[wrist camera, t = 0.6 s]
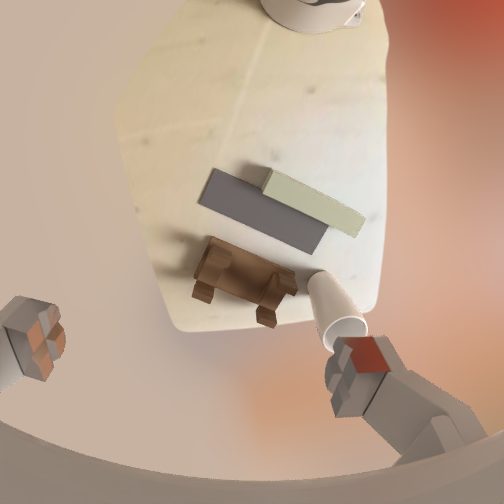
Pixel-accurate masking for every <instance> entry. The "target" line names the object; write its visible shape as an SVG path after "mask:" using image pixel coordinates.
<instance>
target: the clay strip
mask: <svg viewBox="0 0 504 504" xmlns="http://www.w3.org/2000/svg"><path fill="white" fill-rule="evenodd" d="M261 190H262V193H263V194H265V195H267V196H269V197H271V198H273V199H276V200H278V201H280V202H282V203H284V204H286V205H288V206H291V207H293V208H295V209H297V210H299V211H301V212H303V213H305V214H307V215H309V216H311V217H314V218H316V219H318V220H320V221H322V222H324V223H326V224H328V225H330V226H332V227H334V228H336V229H338V230H340V231H342V232H344V233H346V234H348V235H350V236H352V237H354V238H356V236H357V234H358V232H359V231H360V229H361V227H362V225H363V224H364V222H365V220H366V218H364V217H363V216H362V215H361V214H360V213H358V212H357V211H355V210H353V209H351V208H349V207H348V206H346V205H344V204H342V203H340V202H338V201H336V200H334V199H333V198H331V197H329V196H327V195H325V194H323V193H321V192H319V191H317V190H315V189H313V188H311V187H309V186H307V185H305V184H303V183H301V182H299V181H297V180H295V179H293V178H291V177H289V176H287V175H285V174H283V173H281V172H279V171H276V170H274V169H272V168H271V169H270V171H269V173H268V175H267V177H266V179H265V181H264V183H263V185H262V187H261Z"/></svg>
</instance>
